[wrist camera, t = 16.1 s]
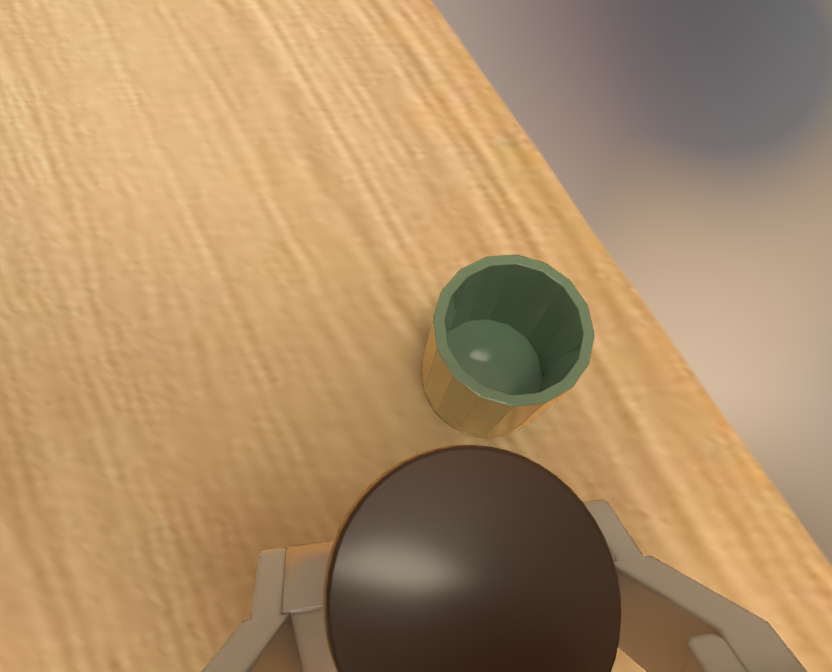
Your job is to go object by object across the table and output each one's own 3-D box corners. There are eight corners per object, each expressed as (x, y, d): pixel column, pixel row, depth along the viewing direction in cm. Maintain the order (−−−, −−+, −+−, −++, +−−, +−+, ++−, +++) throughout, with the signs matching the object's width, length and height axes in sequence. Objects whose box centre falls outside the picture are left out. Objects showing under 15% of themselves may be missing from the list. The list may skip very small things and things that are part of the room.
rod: (333, 544, 20) (268, 531, 8) (438, 484, 21) (521, 392, 9) (391, 663, 19) (416, 855, 7) (498, 594, 20) (688, 659, 8)
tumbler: (398, 349, 33) (405, 295, 26) (504, 296, 35) (537, 231, 28) (462, 461, 31) (488, 435, 24) (571, 399, 33) (624, 358, 26)
